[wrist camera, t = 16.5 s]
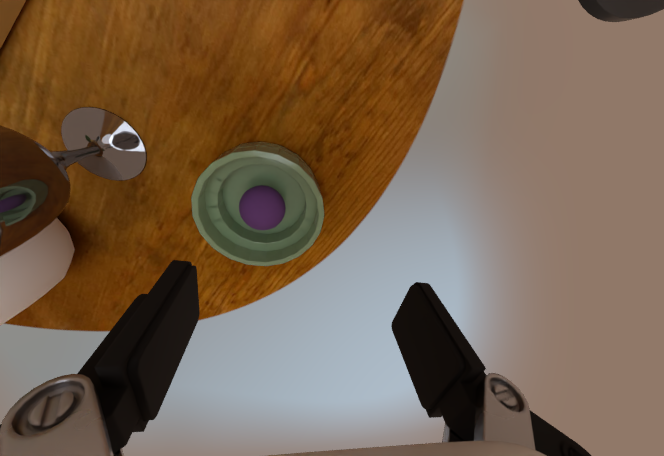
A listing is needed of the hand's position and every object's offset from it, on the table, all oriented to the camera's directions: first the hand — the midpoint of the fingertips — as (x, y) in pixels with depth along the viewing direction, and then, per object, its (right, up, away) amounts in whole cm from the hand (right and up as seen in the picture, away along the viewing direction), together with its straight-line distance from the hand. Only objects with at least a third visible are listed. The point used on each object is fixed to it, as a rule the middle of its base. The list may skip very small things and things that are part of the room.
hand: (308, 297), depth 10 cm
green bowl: (-7, +7, +19) cm, 21 cm away
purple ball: (-7, +7, +18) cm, 20 cm away
